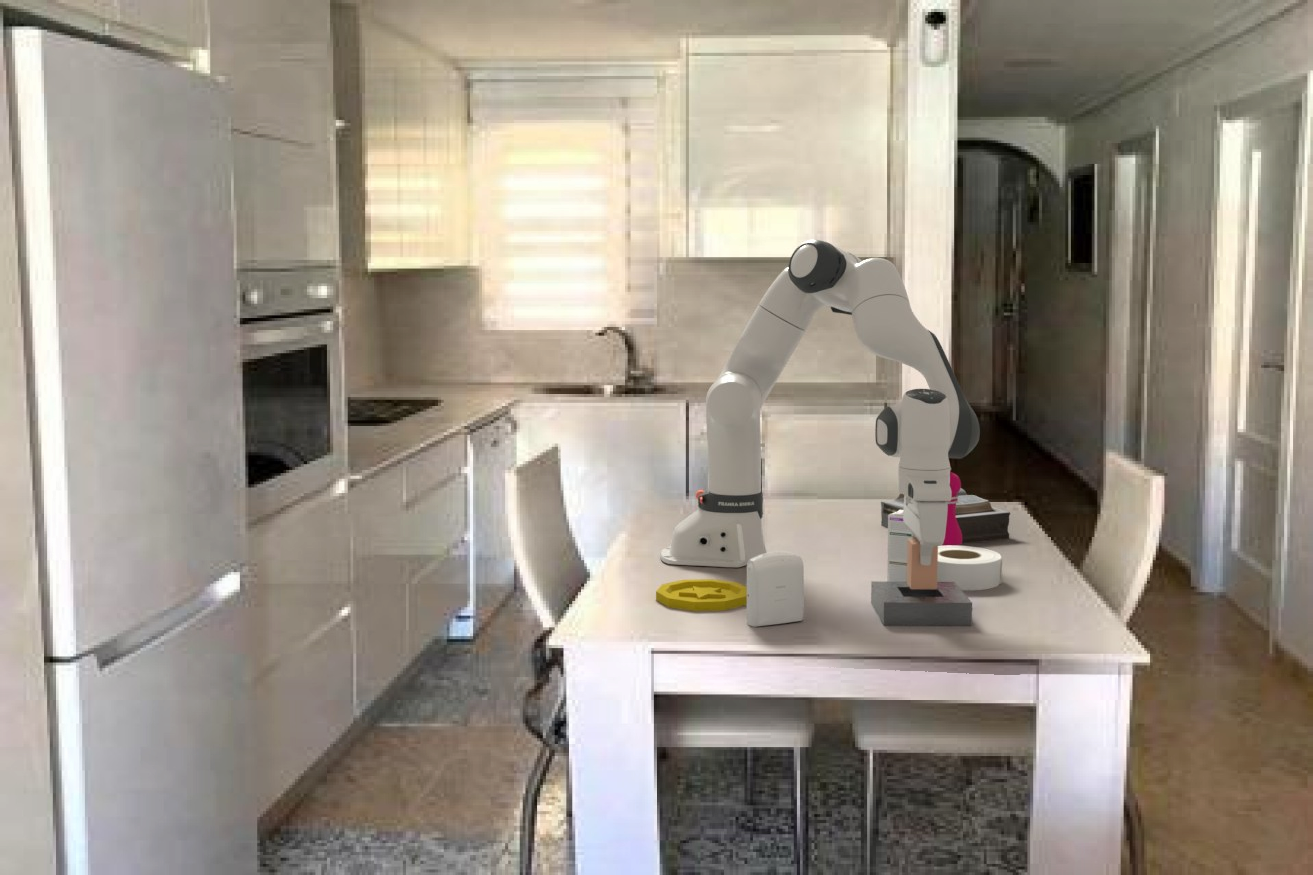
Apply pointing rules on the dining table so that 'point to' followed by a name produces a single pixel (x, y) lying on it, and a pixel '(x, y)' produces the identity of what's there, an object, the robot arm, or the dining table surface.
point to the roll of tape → (969, 567)
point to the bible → (965, 517)
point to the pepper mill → (953, 514)
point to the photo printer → (775, 589)
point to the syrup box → (897, 547)
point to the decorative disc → (702, 595)
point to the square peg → (921, 567)
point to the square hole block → (921, 604)
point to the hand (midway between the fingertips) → (921, 560)
